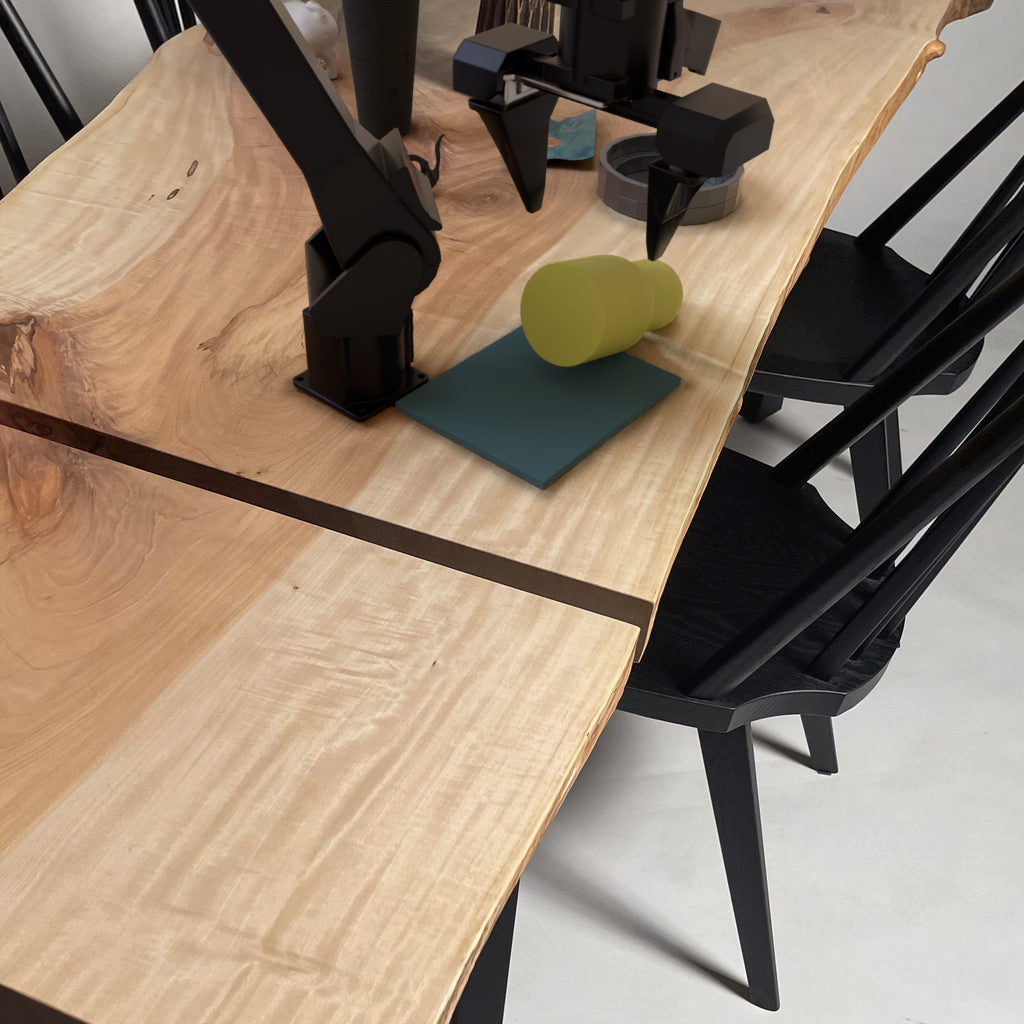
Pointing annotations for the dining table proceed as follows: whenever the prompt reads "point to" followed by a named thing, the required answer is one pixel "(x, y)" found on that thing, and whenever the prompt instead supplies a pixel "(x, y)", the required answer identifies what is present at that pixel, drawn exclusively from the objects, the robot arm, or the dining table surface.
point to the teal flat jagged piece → (573, 137)
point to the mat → (536, 405)
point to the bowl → (628, 182)
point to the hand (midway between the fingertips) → (592, 234)
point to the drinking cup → (382, 61)
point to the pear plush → (596, 306)
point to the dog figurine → (316, 30)
